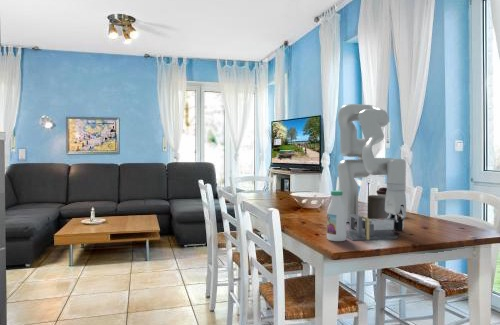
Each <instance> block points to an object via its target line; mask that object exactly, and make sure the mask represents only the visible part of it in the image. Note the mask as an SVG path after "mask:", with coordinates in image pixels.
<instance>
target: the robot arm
mask: <svg viewBox="0 0 500 325" xmlns="http://www.w3.org/2000/svg"><path fill="white" fill-rule="evenodd" d="M389 117H390V116H389V114H388V112H387V111H386V110H384V109H383V108H381V107H377V106H375V105H371V104H360V103H359V104H358V103H348V104H345V105H342V106H341V107H340V108H339V110H338V114H337V122H338V126H339V138H340V139H339V140H340V141H339V144H340V146H339V147H340V154H341V155H342V156H343V157H346V158H348V157H349V158H357V159H343V160H341V161H339V162H338V164H337V166H336V169H337V174H338V175H337V176H338V185H339V186H338V189H339V190H338V191H342V192H343V195H342V201H343V204H344V206H345V209H346V223H350V213H354V214H356V215H359V186H358V182H357V180H356V179H359V178H362V179H363V178H367V177H369V176H370V175H372V176H386V188H387V191H386V197H385V212H387V213H388V218H396V222H395V229H394V232H399V233H400V232H403V230H404V229H403V220H405V218H406V217H407V215H406V214H407V196H406V190H407V188H406V187H407V186H406V179H407V177H406V176H407V174H406V173H407V170H406V169H407V162H406V160H405V159H403V158H392V157H375V156H374V153H373V146H376V145H377V144H380V142H382V141H383V140H384V138H385V134H384V132H383V129H382V128H383V127H386V126H387V125H388V124H389V119H390V118H389ZM353 122H359V125H360V128H361V131H362V134H363V137H364V138H358V129H357V127H356V125H355V124H354V123H353ZM355 223H357V219H355Z"/></svg>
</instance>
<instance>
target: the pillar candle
mask: <svg viewBox="0 0 500 325" xmlns="http://www.w3.org/2000/svg"><path fill="white" fill-rule="evenodd" d="M385 197H386V196H381V195H378V194H377V193H376V194H375V195H374V194H370V195H367V216H366V217H367V218H369V219H384V218H388V217H389V216H388V213H387V212H385Z"/></svg>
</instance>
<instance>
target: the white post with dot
mask: <svg viewBox="0 0 500 325" xmlns="http://www.w3.org/2000/svg"><path fill="white" fill-rule="evenodd" d="M404 220H405V219H404ZM404 220H403V230H405V229H404V228H405V227H404V224H405V221H404ZM395 222H396V218H384V219H369V224H374V230H390V231H392V230H395Z"/></svg>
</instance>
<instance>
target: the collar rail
mask: <svg viewBox="0 0 500 325" xmlns="http://www.w3.org/2000/svg"><path fill="white" fill-rule="evenodd" d="M355 219H357V222H355ZM355 223H356V224H355ZM355 225H356V228H355ZM346 239H349V240H351V241H373V240H375V241H376V240H377V241H378V240H398V239H399V237H398V235H395V234H393V233H391V230H374V224H369V218H367V216H364V215H362V216H361V215H359V214H358V215H356V214H354V213H350V222H349V230H348V231H347V230H346Z"/></svg>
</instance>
